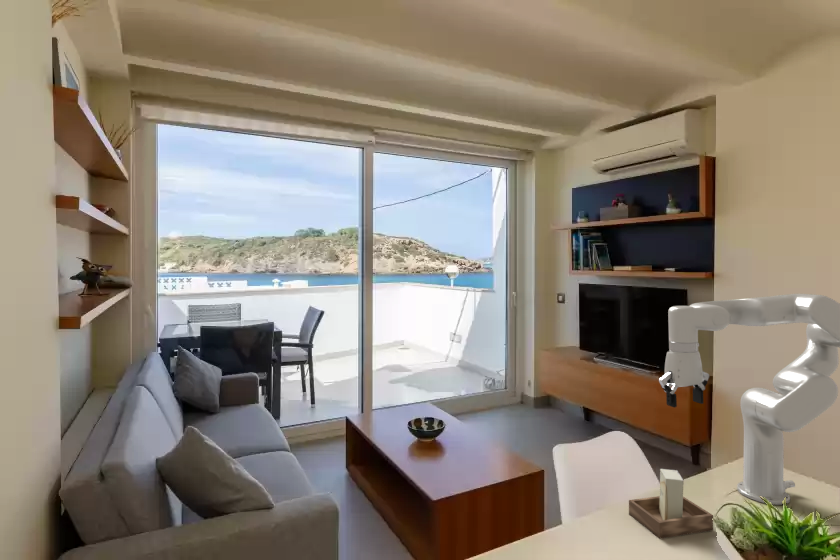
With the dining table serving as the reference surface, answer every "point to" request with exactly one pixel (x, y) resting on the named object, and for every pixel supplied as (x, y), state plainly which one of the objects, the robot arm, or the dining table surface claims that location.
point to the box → (688, 524)
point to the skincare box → (671, 494)
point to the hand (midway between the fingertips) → (685, 404)
